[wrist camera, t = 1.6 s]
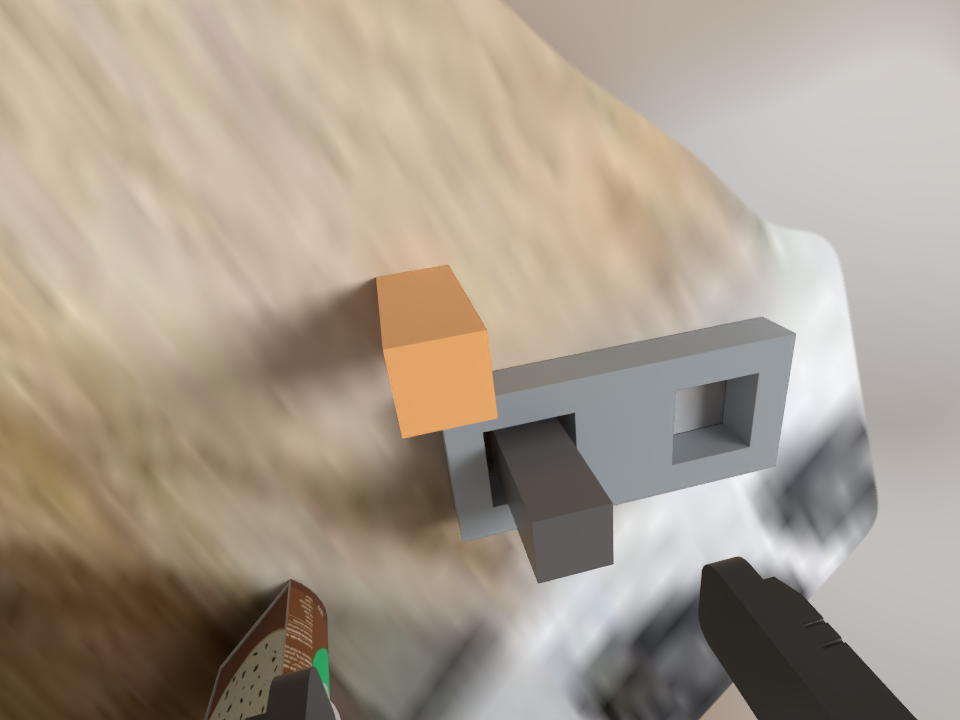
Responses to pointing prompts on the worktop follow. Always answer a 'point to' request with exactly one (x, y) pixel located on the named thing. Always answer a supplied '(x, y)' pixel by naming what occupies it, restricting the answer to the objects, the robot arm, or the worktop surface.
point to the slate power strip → (614, 437)
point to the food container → (272, 654)
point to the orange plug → (434, 352)
